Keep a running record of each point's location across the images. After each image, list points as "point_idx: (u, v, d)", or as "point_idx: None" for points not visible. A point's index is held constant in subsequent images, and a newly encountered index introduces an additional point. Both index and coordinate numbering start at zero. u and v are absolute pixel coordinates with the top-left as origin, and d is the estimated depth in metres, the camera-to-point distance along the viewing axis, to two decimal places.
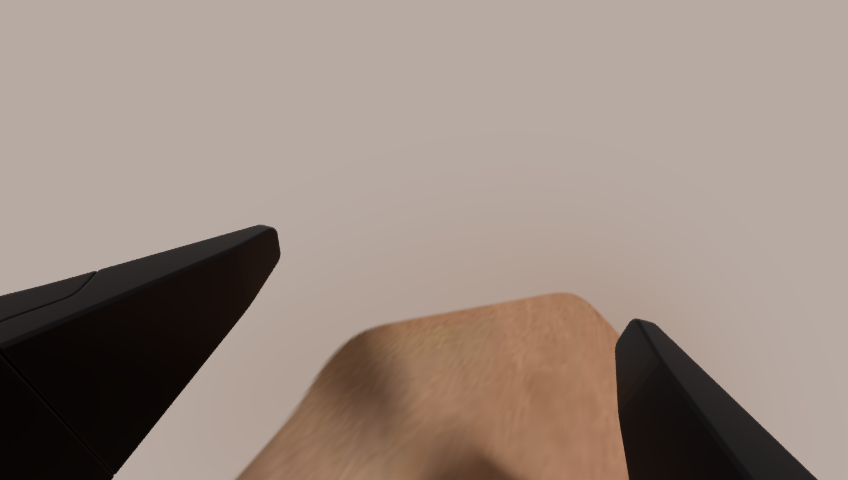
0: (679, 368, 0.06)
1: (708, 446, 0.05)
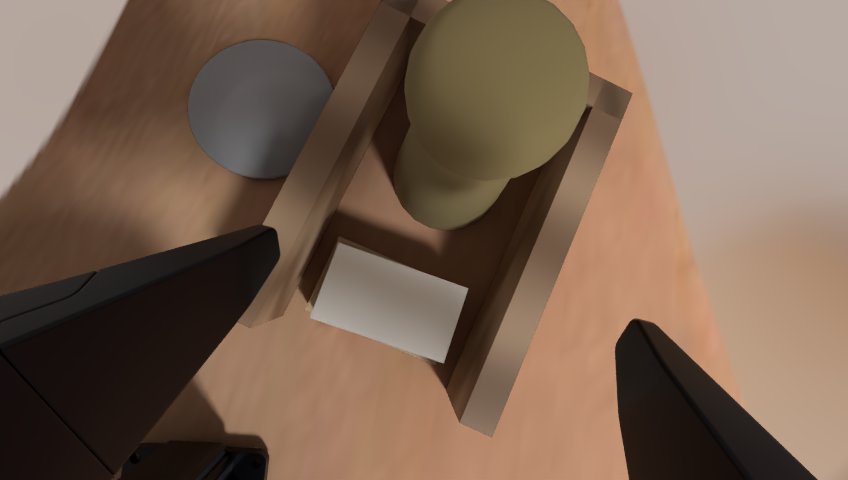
0: (679, 368, 0.06)
1: (709, 447, 0.05)
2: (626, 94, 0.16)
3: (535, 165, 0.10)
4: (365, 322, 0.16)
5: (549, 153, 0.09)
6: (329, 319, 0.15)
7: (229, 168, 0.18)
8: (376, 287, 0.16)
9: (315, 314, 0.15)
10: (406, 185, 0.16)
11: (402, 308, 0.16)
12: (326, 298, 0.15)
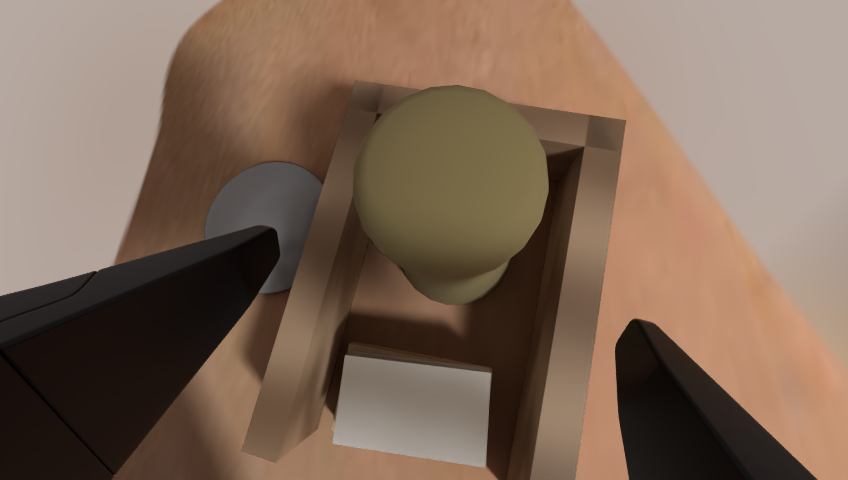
0: (679, 368, 0.06)
1: (709, 447, 0.05)
2: (619, 123, 0.15)
3: (510, 256, 0.09)
4: (389, 436, 0.14)
5: (519, 243, 0.08)
6: (352, 441, 0.14)
7: None
8: (392, 394, 0.15)
9: (337, 438, 0.15)
10: (408, 272, 0.16)
11: (425, 412, 0.14)
12: (345, 419, 0.15)
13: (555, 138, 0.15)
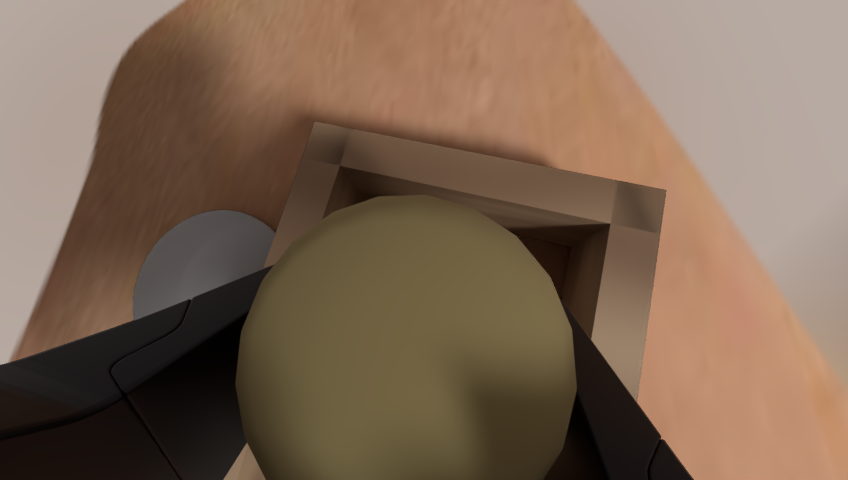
0: None
1: (576, 407, 0.05)
2: (657, 193, 0.11)
3: None
4: None
5: None
6: None
7: None
8: None
9: None
10: None
11: None
12: None
13: (571, 211, 0.11)
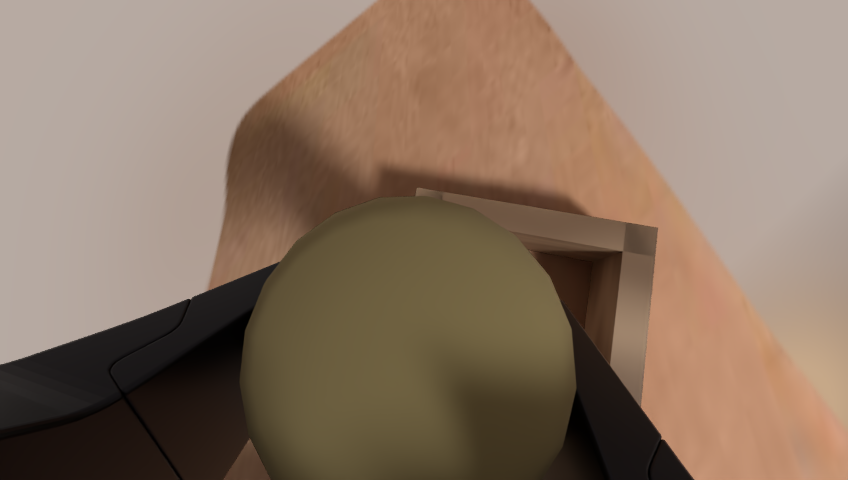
0: None
1: (576, 407, 0.05)
2: (652, 230, 0.17)
3: None
4: None
5: None
6: None
7: None
8: None
9: None
10: None
11: None
12: None
13: (596, 243, 0.17)
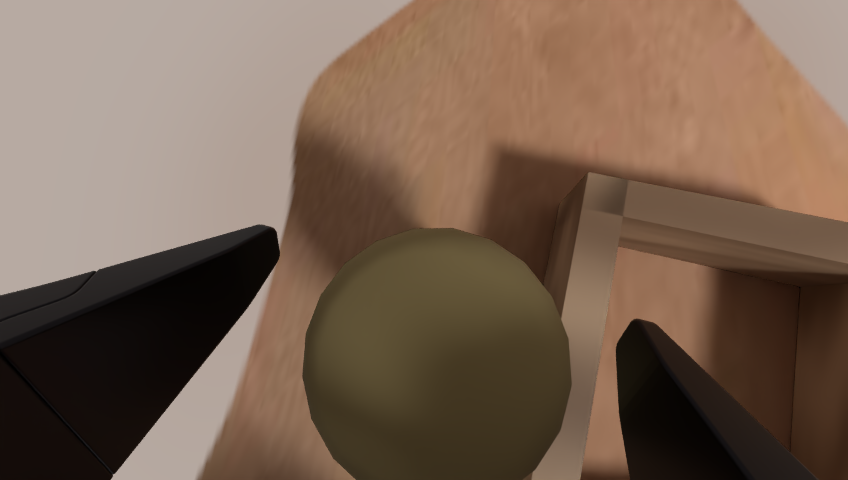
0: (680, 368, 0.06)
1: (710, 447, 0.05)
2: None
3: None
4: None
5: (528, 473, 0.06)
6: None
7: None
8: None
9: None
10: None
11: None
12: None
13: None
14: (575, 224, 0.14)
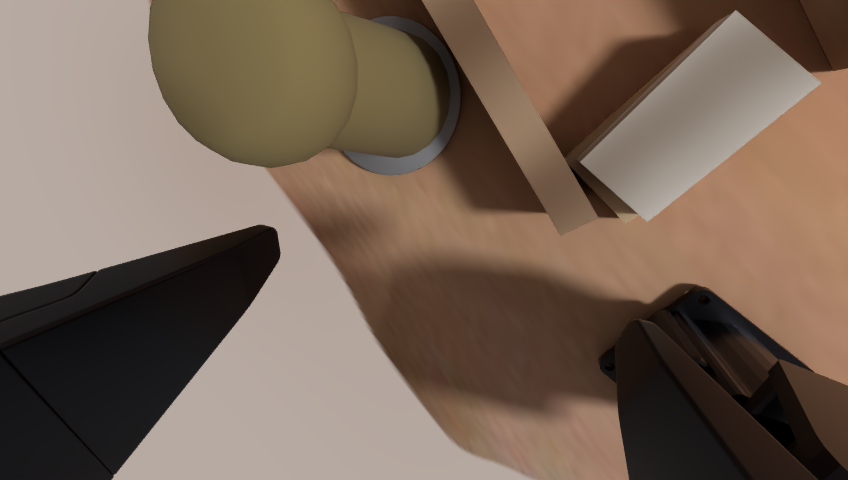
0: (679, 368, 0.06)
1: (708, 446, 0.05)
2: None
3: (337, 73, 0.08)
4: (692, 165, 0.13)
5: (323, 56, 0.08)
6: (662, 203, 0.13)
7: (425, 162, 0.18)
8: (656, 138, 0.13)
9: (647, 215, 0.14)
10: None
11: (703, 114, 0.12)
12: (636, 197, 0.14)
13: None
14: None
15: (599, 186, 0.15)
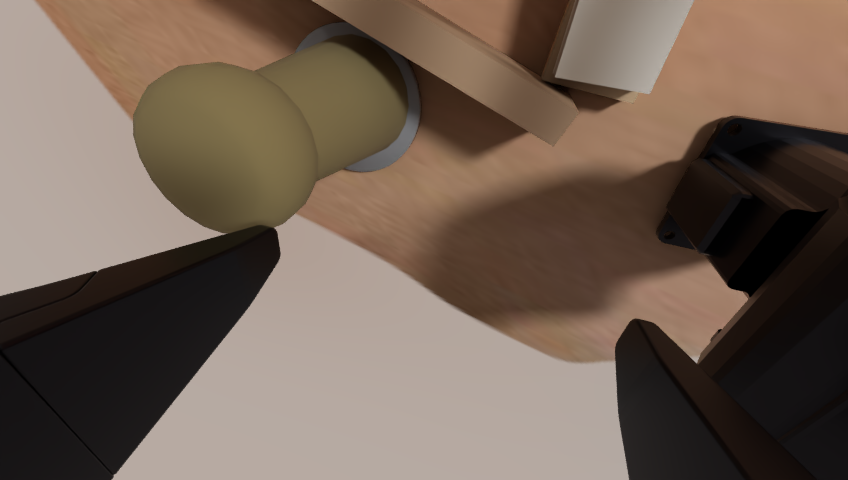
0: (679, 368, 0.06)
1: (708, 446, 0.05)
2: None
3: (286, 130, 0.10)
4: (666, 17, 0.12)
5: (268, 125, 0.09)
6: (655, 68, 0.13)
7: (410, 139, 0.19)
8: (615, 13, 0.12)
9: (645, 88, 0.13)
10: None
11: None
12: (626, 77, 0.13)
13: None
14: None
15: (588, 84, 0.15)
